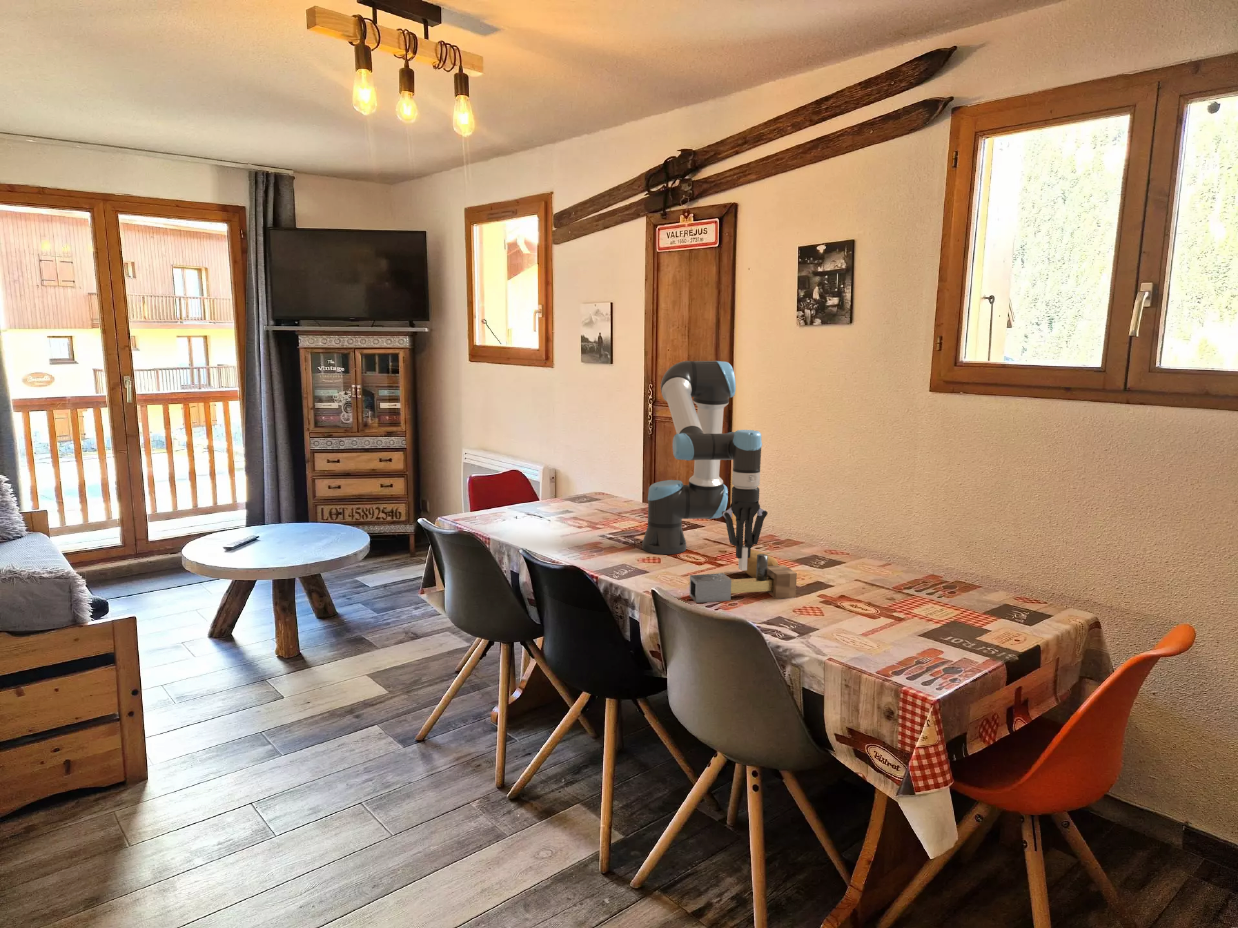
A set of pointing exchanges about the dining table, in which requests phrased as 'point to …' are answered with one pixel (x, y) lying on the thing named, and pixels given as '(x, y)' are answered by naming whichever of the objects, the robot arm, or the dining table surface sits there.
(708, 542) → the dining table surface
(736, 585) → the sliding bolt
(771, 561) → the potato
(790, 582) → the socket
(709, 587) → the sleeve
